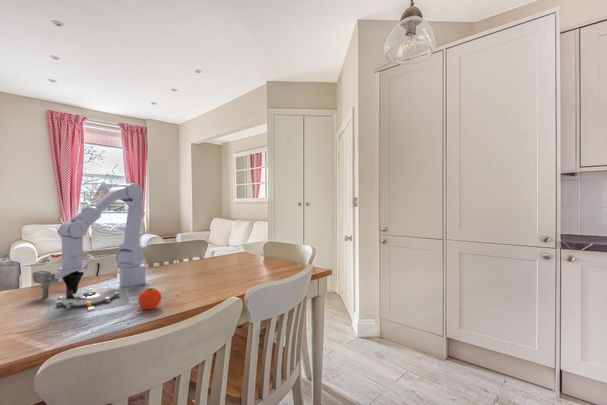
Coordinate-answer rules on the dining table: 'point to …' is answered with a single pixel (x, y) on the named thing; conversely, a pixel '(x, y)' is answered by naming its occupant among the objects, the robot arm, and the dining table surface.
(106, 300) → the sprocket
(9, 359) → the dining table surface
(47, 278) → the mechanical component
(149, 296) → the clementine
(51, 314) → the index board
